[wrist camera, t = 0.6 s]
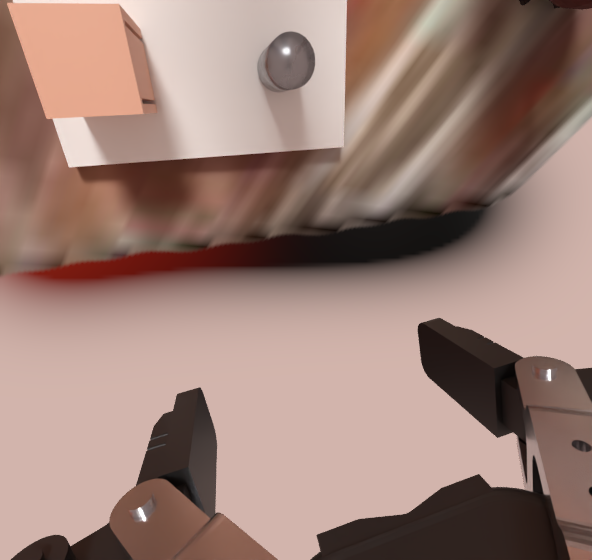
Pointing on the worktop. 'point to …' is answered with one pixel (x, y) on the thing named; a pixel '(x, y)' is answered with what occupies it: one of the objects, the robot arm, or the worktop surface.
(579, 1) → the mate gourd
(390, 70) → the worktop surface
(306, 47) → the steel post
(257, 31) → the white board
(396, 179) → the worktop surface
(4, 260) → the worktop surface
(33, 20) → the salmon pink cube
